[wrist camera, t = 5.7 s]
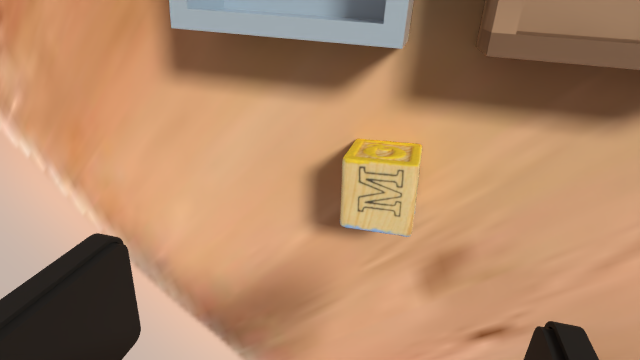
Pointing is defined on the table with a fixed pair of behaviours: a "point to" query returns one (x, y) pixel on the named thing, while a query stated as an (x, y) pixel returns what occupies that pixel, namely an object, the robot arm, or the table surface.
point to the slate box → (301, 19)
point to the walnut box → (563, 31)
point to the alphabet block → (380, 186)
